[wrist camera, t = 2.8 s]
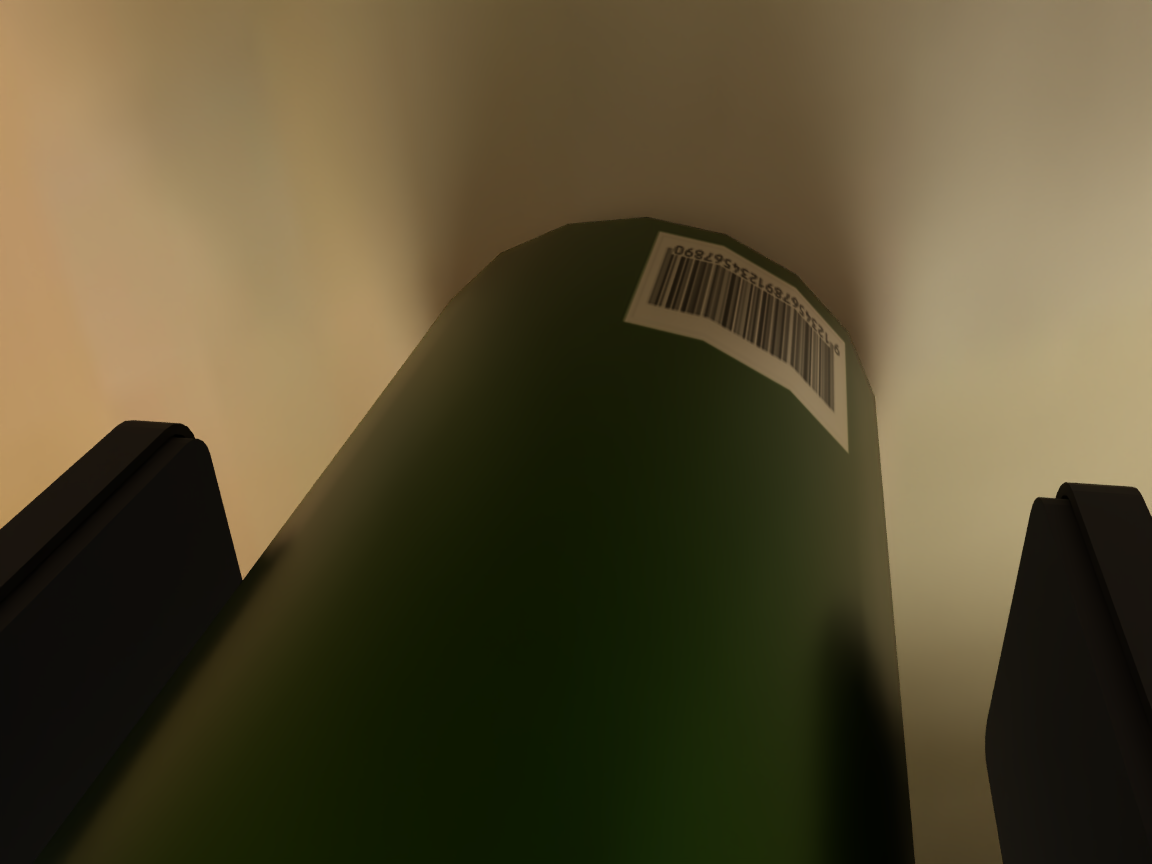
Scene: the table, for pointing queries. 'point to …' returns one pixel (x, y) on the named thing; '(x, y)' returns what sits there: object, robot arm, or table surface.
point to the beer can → (557, 598)
